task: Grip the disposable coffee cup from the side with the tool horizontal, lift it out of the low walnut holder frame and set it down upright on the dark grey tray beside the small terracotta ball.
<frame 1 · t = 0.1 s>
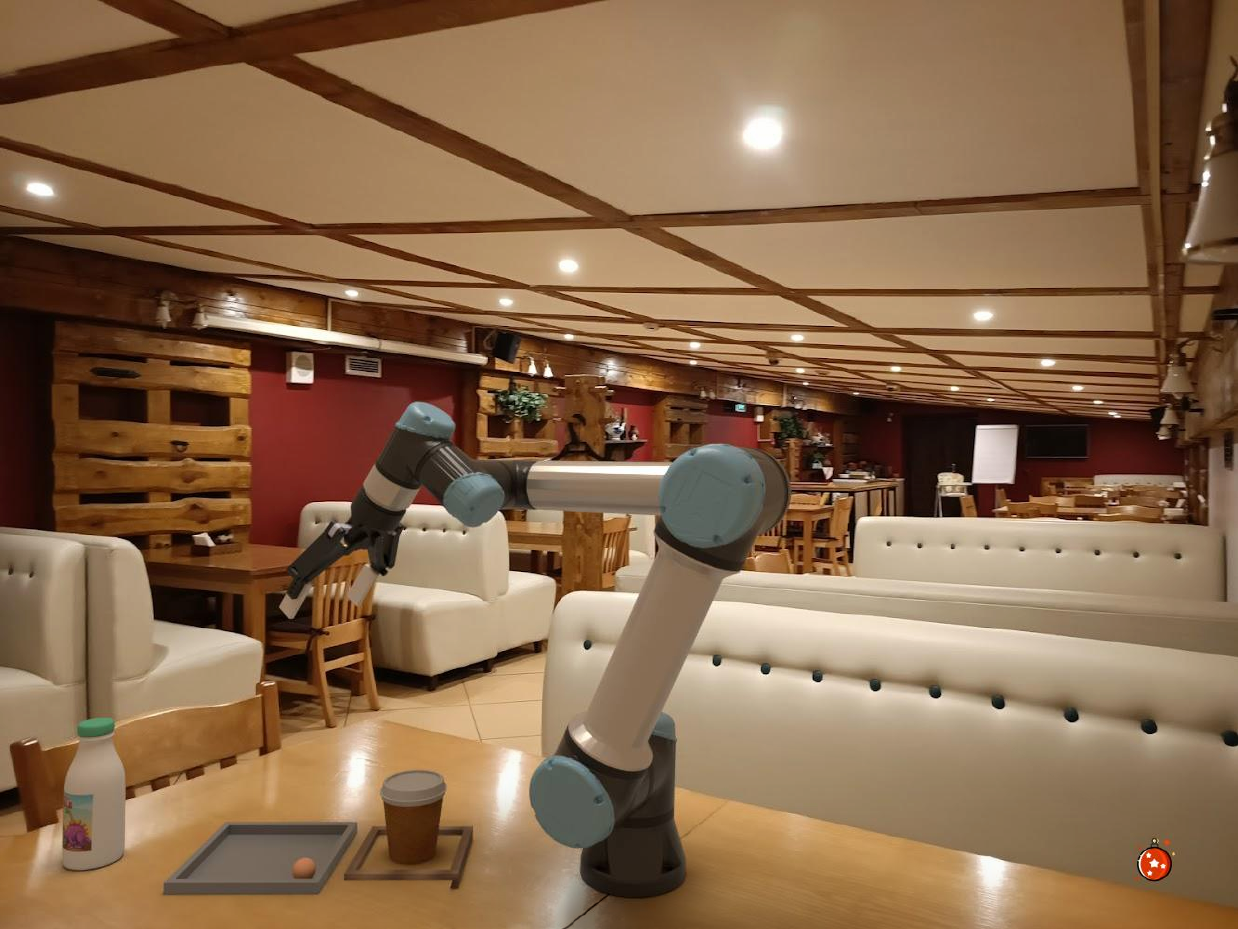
hand: (321, 606, 132), 36 cm above the table, tool tilted 35°, fingers open, 13 cm apart
holder: (412, 862, 124), on the table
ball: (303, 881, 116), point 1 cm above the table, touching tray
disposable coffee cup: (412, 863, 124), resting in holder
tray: (268, 869, 121), on the table
milk bottle: (93, 860, 123), on the table
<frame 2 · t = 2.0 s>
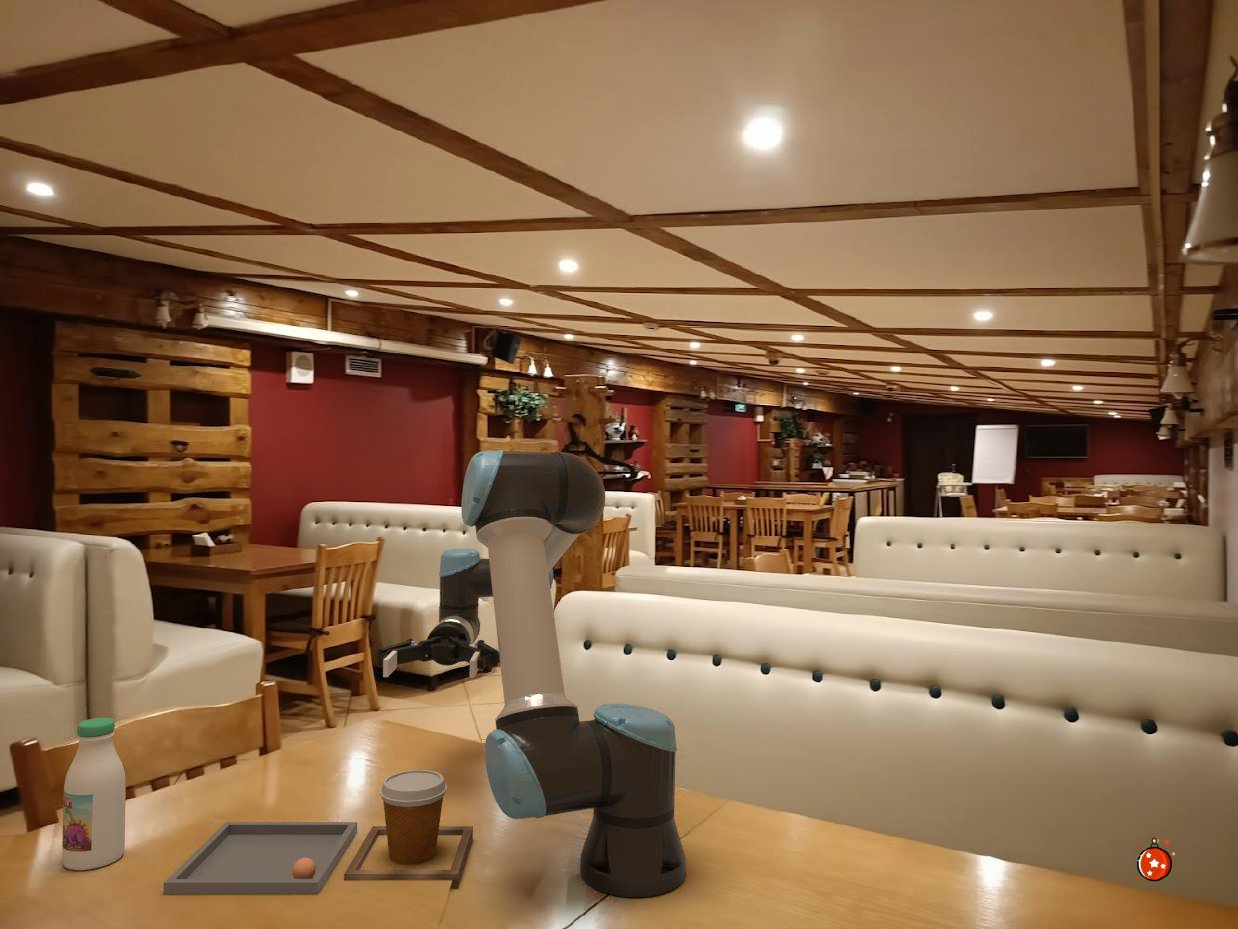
hand: (428, 669, 135), 26 cm above the table, tool horizontal, fingers open, 13 cm apart
nothing on the table moved.
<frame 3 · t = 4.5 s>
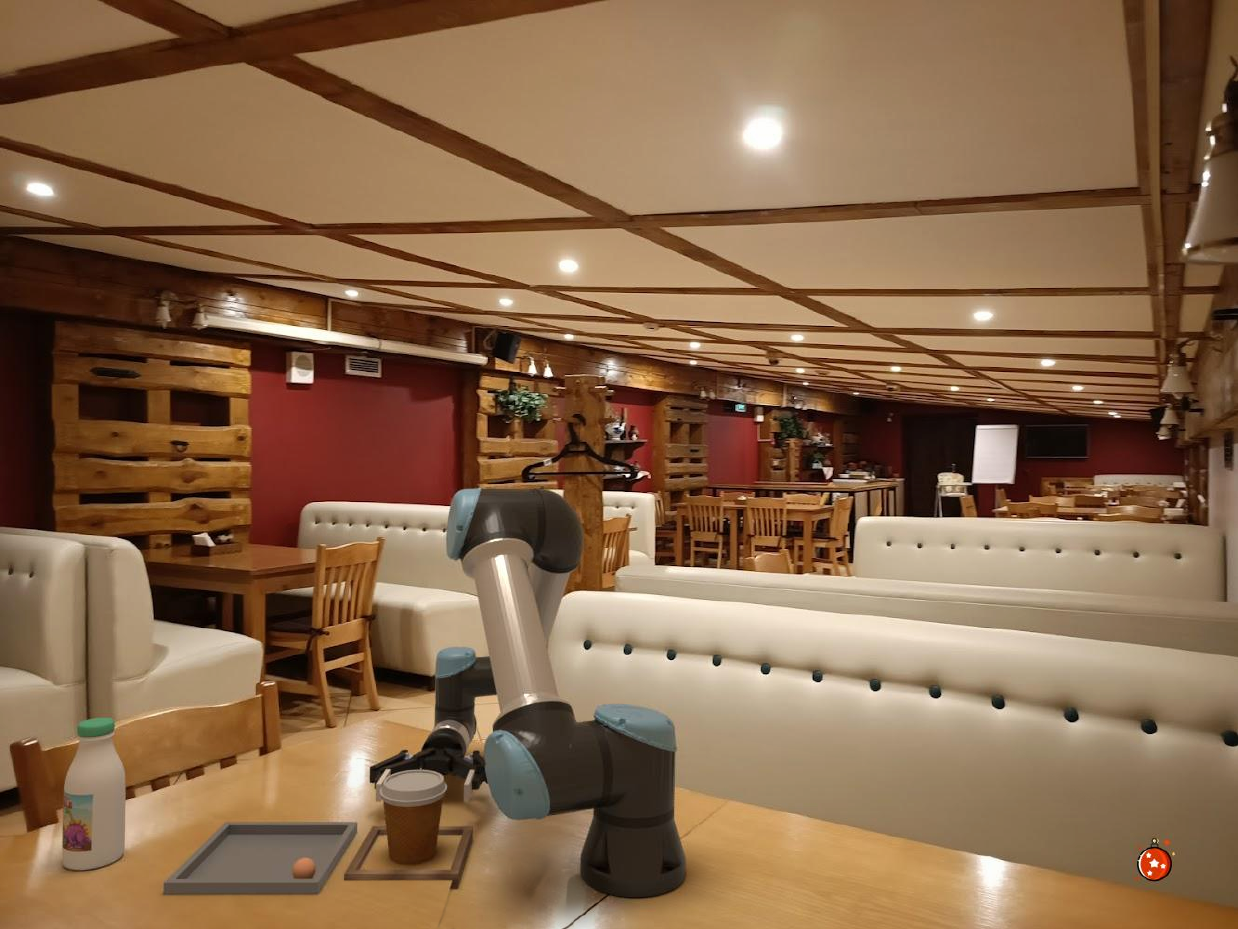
hand: (422, 793, 132), 7 cm above the table, tool horizontal, fingers open, 13 cm apart
nothing on the table moved.
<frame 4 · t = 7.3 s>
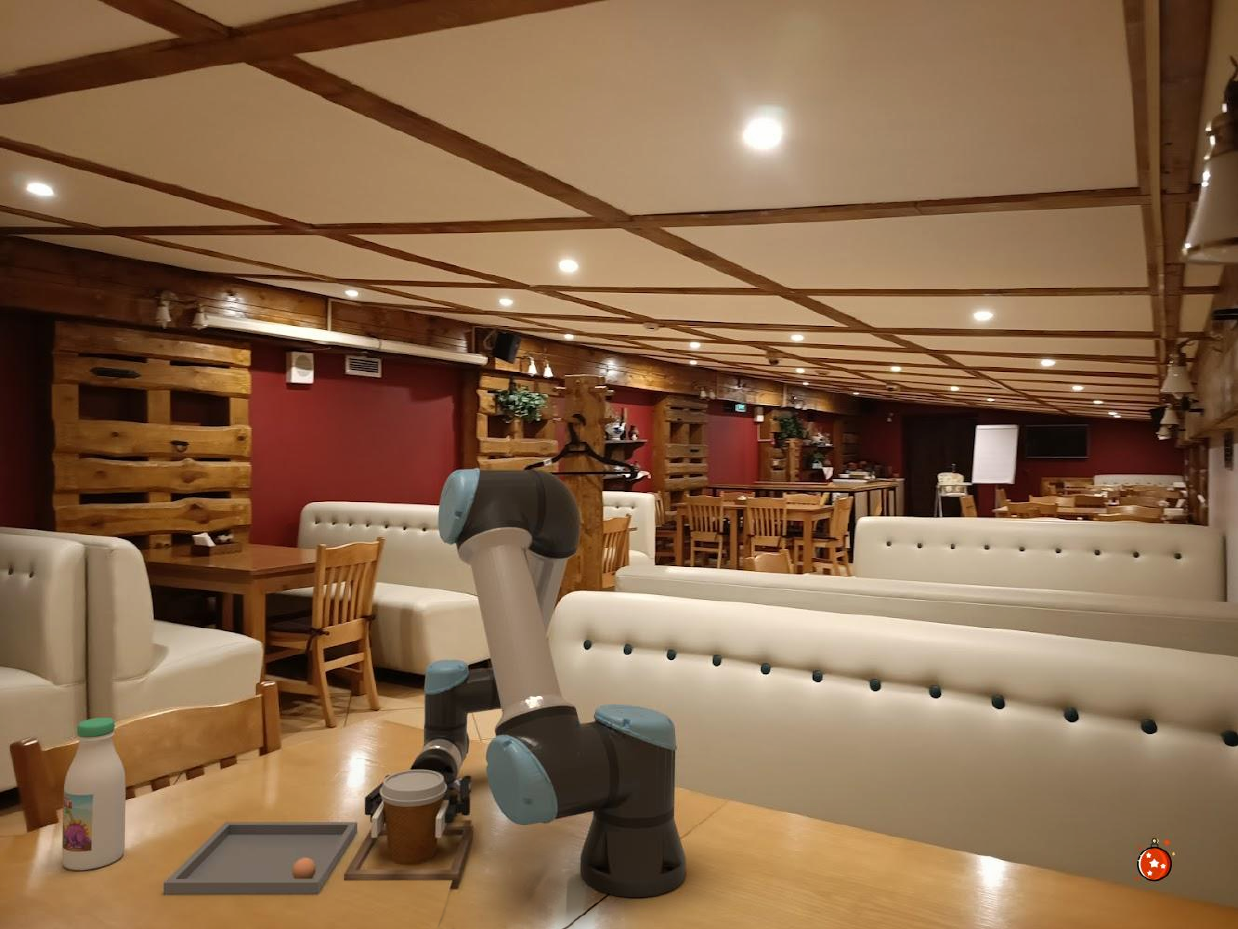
hand: (406, 828, 119), 7 cm above the table, tool horizontal, fingers closed on disposable coffee cup, 8 cm apart
disposable coffee cup: (412, 863, 124), resting in holder, touching gripper
everything else where it was.
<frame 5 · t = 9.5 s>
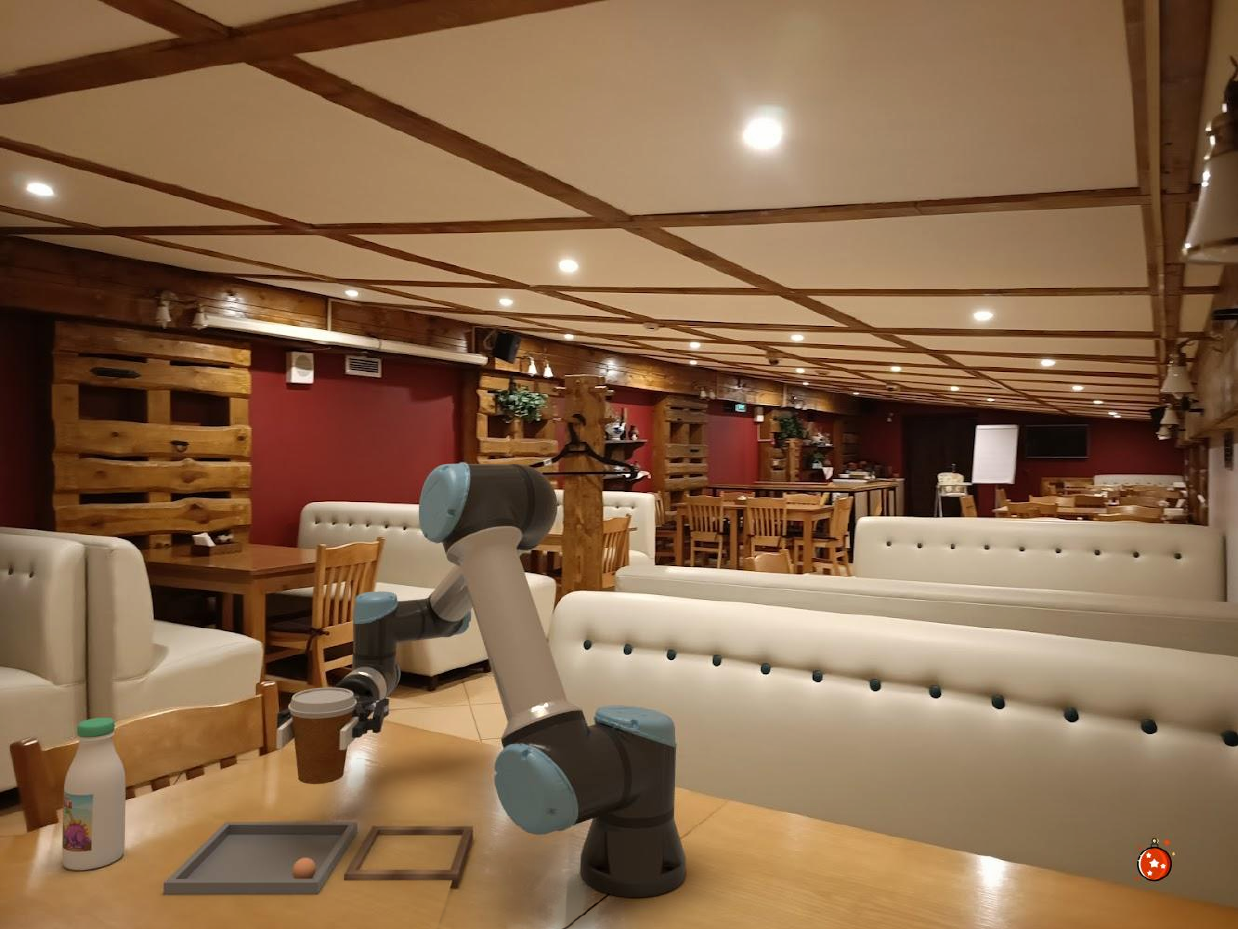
hand: (310, 739, 121), 19 cm above the table, tool horizontal, fingers closed on disposable coffee cup, 8 cm apart
disposable coffee cup: (321, 778, 125), point 12 cm above the table, touching gripper
everything else where it was.
when the fingers open (10 cm above the table, at t = 12.0 s): disposable coffee cup drops 1 cm, resting on tray.
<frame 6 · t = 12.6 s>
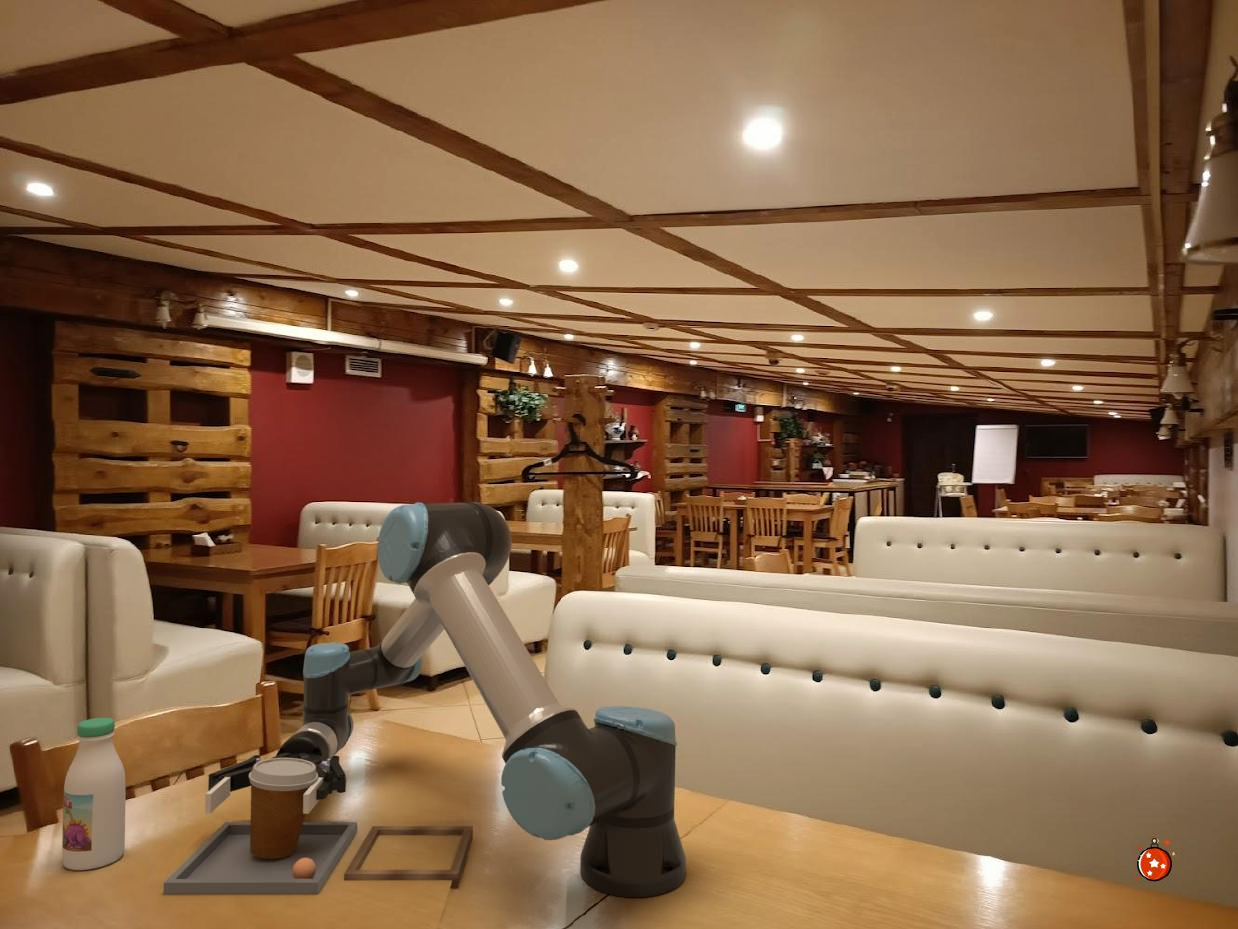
hand: (256, 804, 119), 10 cm above the table, tool horizontal, fingers open, 13 cm apart
disposable coffee cup: (273, 851, 124), point 1 cm above the table, touching gripper, tray
everything else where it was.
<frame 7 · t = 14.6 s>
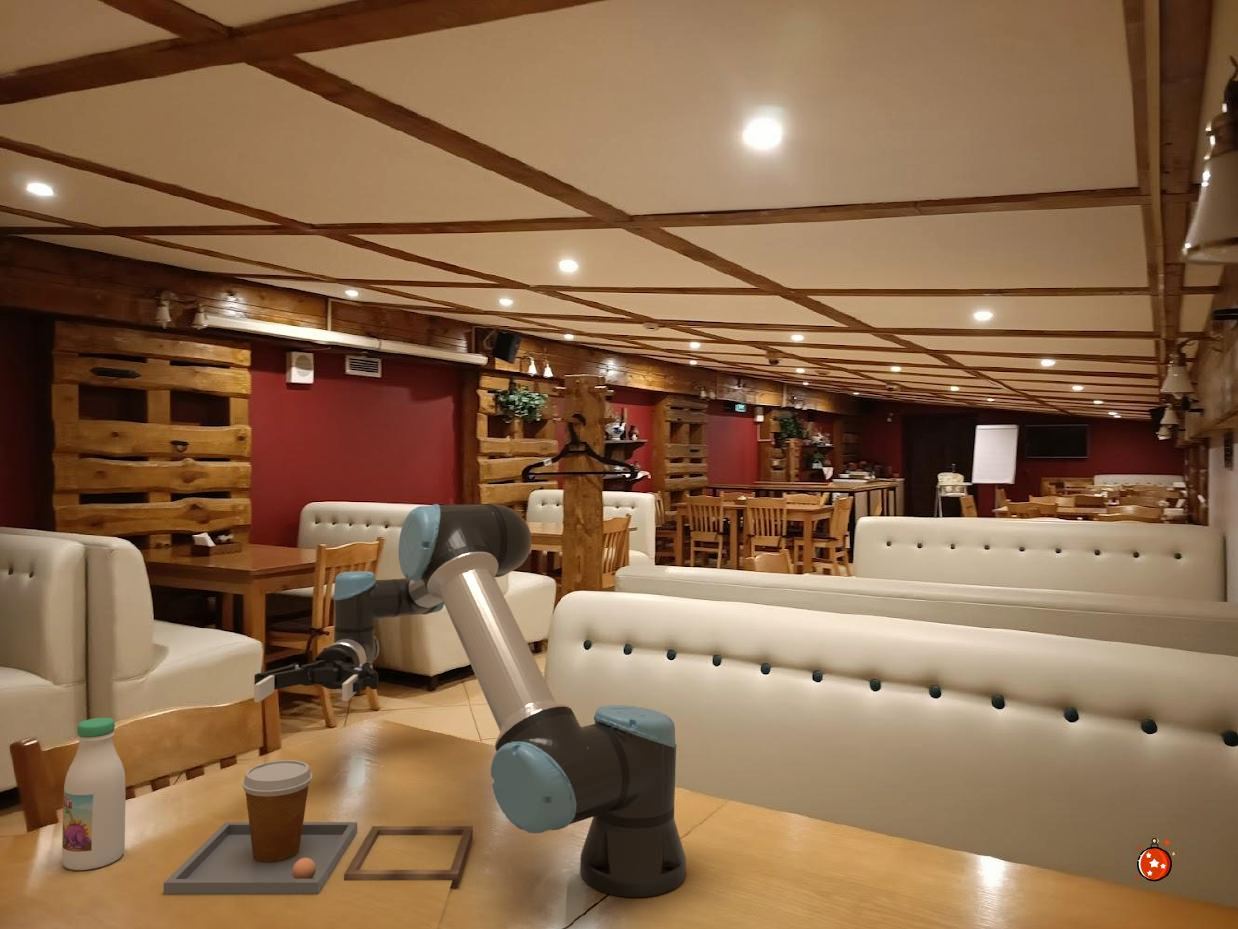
hand: (300, 693, 134), 22 cm above the table, tool horizontal, fingers open, 13 cm apart
disposable coffee cup: (276, 854, 124), point 1 cm above the table, touching tray
everything else where it was.
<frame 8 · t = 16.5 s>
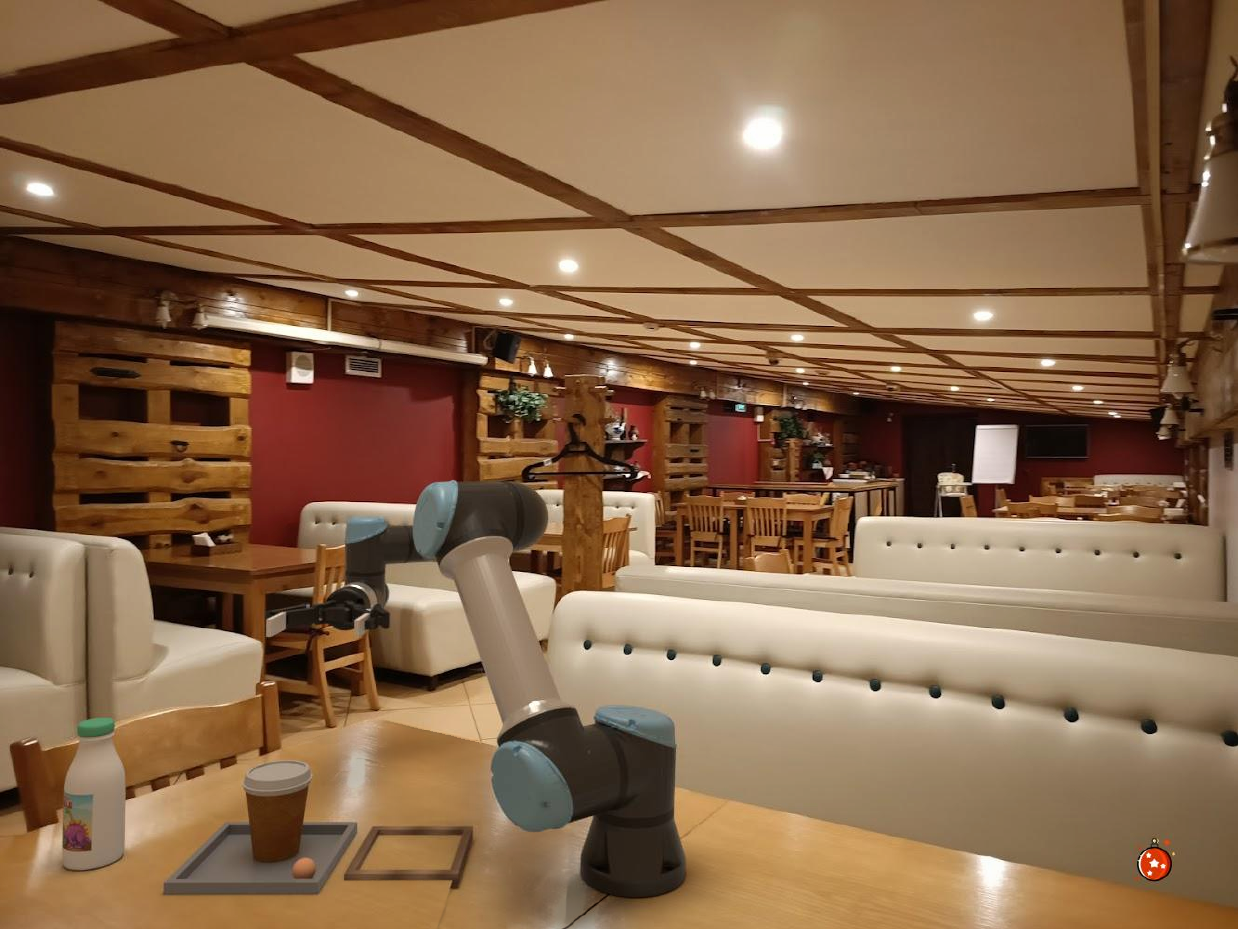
hand: (312, 628, 133), 32 cm above the table, tool horizontal, fingers open, 13 cm apart
nothing on the table moved.
at the end: disposable coffee cup inside the target area on the tray (1.9 cm from its centre), point 1.0 cm above the tray's base; disposable coffee cup tilted 0°; the gripper is holding nothing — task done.
